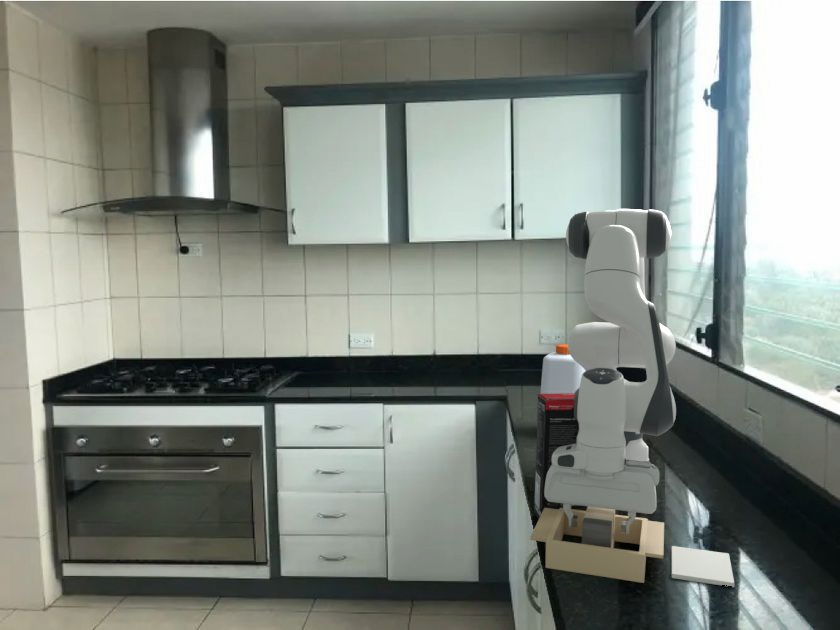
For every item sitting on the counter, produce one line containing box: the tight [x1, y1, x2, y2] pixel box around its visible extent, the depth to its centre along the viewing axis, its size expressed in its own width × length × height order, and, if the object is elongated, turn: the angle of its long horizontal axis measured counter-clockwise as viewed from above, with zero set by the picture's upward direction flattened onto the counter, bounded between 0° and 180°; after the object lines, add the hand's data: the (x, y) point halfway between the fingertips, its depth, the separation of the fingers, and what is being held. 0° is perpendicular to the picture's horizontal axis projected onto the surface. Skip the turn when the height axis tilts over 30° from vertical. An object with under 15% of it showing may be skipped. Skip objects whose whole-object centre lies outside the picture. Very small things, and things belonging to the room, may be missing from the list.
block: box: [581, 506, 615, 548], centre depth 130 cm, size 11×5×8 cm, turn 160°
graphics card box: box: [533, 393, 619, 520], centre depth 146 cm, size 17×7×27 cm, turn 96°
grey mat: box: [671, 545, 735, 588], centre depth 125 cm, size 12×10×1 cm
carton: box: [530, 508, 665, 584], centre depth 130 cm, size 17×23×5 cm
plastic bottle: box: [539, 343, 585, 394], centre depth 212 cm, size 15×15×28 cm
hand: (598, 529), depth 129 cm, fingers open, 8 cm apart
